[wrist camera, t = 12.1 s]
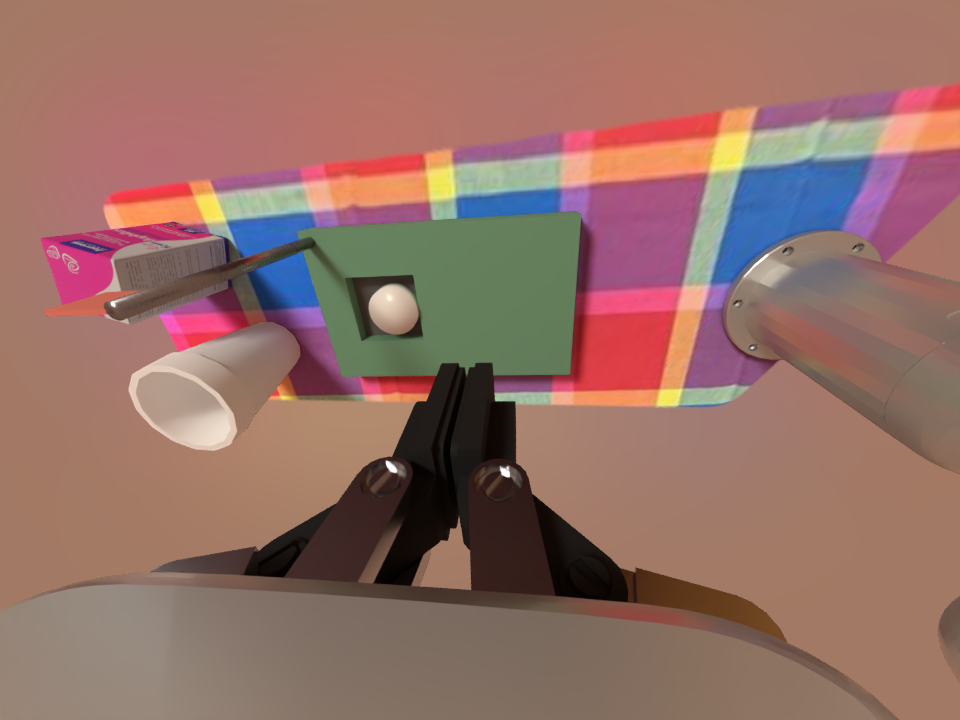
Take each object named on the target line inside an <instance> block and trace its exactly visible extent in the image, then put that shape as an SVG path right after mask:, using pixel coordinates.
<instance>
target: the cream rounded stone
mask: <svg viewBox="0 0 960 720" xmlns="http://www.w3.org/2000/svg"><path fill="white" fill-rule="evenodd" d="M369 313H370V316H371V319H372V320H373V322H374V323H375V324H376V326H378V327H379V328H380V329H381V330H383V331H385V332H387V333H390V334H396V335H397V334H404V333H406V332H408V331H410V330H411V329H412V328H413V327H414V325H415V324H416V322H417V321H418V319H419V317H420V314H419V307H418V301H417V295H416V292H415V291H414V290H413V289H412V288H411V287H409V286H408V285H406V284H403V283H399V282H391V283H388V284H386V285H384V286H382V287H381V288H380V289H379V290H378V291H377V292H376V293H375V294H374V295H373V296H372V297H371V299H370V302H369Z"/></svg>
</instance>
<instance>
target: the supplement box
mask: <svg viewBox="0 0 960 720" xmlns="http://www.w3.org/2000/svg"><path fill="white" fill-rule="evenodd" d="M41 242H42V246H43V249H44V251H45V254H46V257H47V259H48V262H49V265H50V268H51V271H52V273H53V276H54V279H55V282H56V286H57V289H58V292H59V295H60V298H61V301H62V304H63V305H65V304H68V303H71V302H75V301H78V300H81V299H85V298H88V297H91V296H95V295H98V294H101V293H105V292H118V291H142V290H145V289H148V288H151V287H154V286H157V285H160V284H163V283H166V282H170V281H173V280H176V279H179V278H182V277H185V276H188V275H191V274H194V273H198V272H201V271H204V270H207V269H210V268H213V267H216V266H219V265H222V264H226V263H229V262H230V260H229V247H228V240H227V238H225V237H222V236H218V235H214V234H210V233H207V232H204V231H200V230H197V229H194V228H191V227H187V226H184V225H182V224H179V223H176V222H169V223H161V224H152V225H144V226H136V227H129V228H120V229H112V230H104V231H96V232H87V233H80V234H72V235H63V236H55V237H46V238H41ZM228 288H232V281H231V279H229V280H227V281H224V282H222V283H219V284H216V285H214V286H211V287H209V288H206V289H203V290H201V291H198V292H195V293H193V294H190V295H188V296H185V297H182V298H180V299H177V300H174V301H172V302H169V303H167V304H164V305H161V306H159V307H156V308H153V309H151V310H148V311H146V312H143V313H140V314H138V315H135V316H133V317H130V318H127V319H125V320H122V321H119V322H122V323H126V324H129V325H132V324H135V323H137V322H140V321H142V320H145V319H148V318H150V317H153V316H156V315H159V314H161V313H164V312H167V311H170V310H172V309H175V308H177V307H180V306H183V305H185V304H188V303H191V302H193V301H196V300H199V299H201V298H204V297H207V296H210V295H212V294H215V293H218V292H220V291H223V290H226V289H228ZM99 316H102V317H105V318H109V319H112V320H115V319H113V318H111V317H110V316H109V315H108V314H104V315H99ZM116 321H118V320H116Z"/></svg>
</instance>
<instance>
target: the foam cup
mask: <svg viewBox="0 0 960 720" xmlns="http://www.w3.org/2000/svg"><path fill="white" fill-rule="evenodd" d="M299 358H300V346H299V344H298V342H297V340H296V338H295V337H294V335H293V334H292V333H290V332H289V331H288V330H287V329H286V328H285V327H283V326H281V325H278V324H276V323H274V322H260V323H256V324H253V325H251V326H248V327H245V328H243V329H240V330H237V331H235V332H232V333H229V334H227V335H224V336H221V337H219V338H216V339H213V340H211V341H208V342H205V343H203V344H200V345H197V346H195V347H192V348H189V349H187V350H184V351H181V352H172V353H170V354H168V355H166V356H165V357H163V358H161V359H159V360H157V361H155V362H153V363H151V364H150V365H148V366H146V367H144V368H142V369H140V370H139V371H137V372H135V373H133V374H132V377H131V381H130V386H129V389H128V390H129V393H130V395H131V398H132V401H133V403H134V406H135V408H136V410H137V411H138V412H139V413H140V414H141V415H142V416H143V418H144V419H145V420H146V421H147V422H148V423H149V424H150V425H151V426H152V427H153V428H155V429H156V430H157V431H159V432H160V433H162V434H163V435H165V436H166V437H168V438H169V439H171V440H172V441H174V442H177V443H180V444H182V445H185V446H188V447H190V448H193V449H199V450H218V449H221V448H223V447H226V446H228V445H230V444H231V443H233V442H234V440H236V439H237V438H238V437H239V436H240V435H241V434H242V433H243V432H244V431H245V430H246V429H247V428H248V427H249V425H250V423H251V421H252V419H253V417H254V416H255V415H256V414H257V412H258V411H259V410H260V409H261V407H262V406H263V405H264V404H265V402H266V401H267V400H268V399H269V397H270V396H271V395H272V394H273V392H274V391H275V390H276V388H277V387H278V386H279V385H280V383H281V382H282V381H283V380H284V378H285V377H286V376H287V375H288V373H289V372H290V371H291V370H292V368H293V367H294V365H295V364H296V363H297V361H298V359H299Z"/></svg>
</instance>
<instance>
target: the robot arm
mask: <svg viewBox="0 0 960 720" xmlns="http://www.w3.org/2000/svg"><path fill="white" fill-rule="evenodd" d="M722 321H723V327H724V329H725V332H726V335H727V336H728V337H729V339H730V340H731V341H732V343H734V344H735V345H736V346H737V347H738V348H739V349H741V350H742V351H744V352H745V353H747V354H749V355H752V356H754V357H757V358H762V359H768V360H786V361H787V362H788V363H790V364H791V365H792V366H794V367H795V368H797V369H798V370H800V371H801V372H802V373H804V374H805V375H807V376H808V377H809V378H811V379H812V380H814V381H815V382H816V383H818V384H819V385H821V386H822V387H823V388H825V389H826V390H828V391H829V392H830V393H832V394H833V395H835V396H836V397H837V398H839V399H840V400H842V401H843V402H844V403H846V404H848V405H849V406H850V407H852V408H853V409H854V410H856V411H857V412H859V413H860V414H861V415H863V416H864V417H866V418H867V419H868V420H870V421H871V422H873V423H874V424H876V425H877V426H878V427H880V428H881V429H883V430H884V431H885V432H887V433H888V434H890V435H891V436H893V437H894V438H896V439H897V440H898V441H900V442H901V443H903V444H904V445H906V446H907V447H908V448H910V449H911V450H913V451H914V452H916V453H917V454H919V455H920V456H922V457H924V458H925V459H927V460H929V461H930V462H932V463H934V464H936V465H939V466H940V467H942V468H945V469H948V470H950V471H953V472H955V473H958V474H960V282H957V281H953V280H949V279H945V278H941V277H937V276H933V275H929V274H925V273H921V272H917V271H913V270H910V269H906V268H902V267H898V266H893V265H890V264H886V263H882V259H881V257H880V255H879V252H878V250H877V249H876V248H875V247H874V246H873V245H872V244H871V243H870V242H869V241H868V240H866V239H864V238H862V237H861V236H859V235H856V234H852V233H848V232H844V231H837V230H830V229H829V230H813V231H809V232H804V233H800V234H797V235H794V236H791V237H789V238H786V239H784V240H782V241H780V242H778V243H776V244H774V245H772V246H771V247H769V248H767V249H766V250H764V251H763V252H762V253H760V254H759V255H758V256H756V257H755V258H754V259H753V260H752V261H751V262H750V263H749V264H748V265H747V266H745V267H744V268H743V270H742V271H741V272H740V273H739V275H738V276H737V277H736V279H735V280H734V281H733V283H732V285H731V287H730V289H729V290H728V292H727V295H726V298H725V301H724V304H723V311H722ZM459 517H460V523H461V528H462V535H463V542H464V544H465V545H466V546H467V548H468V549H469V550H470V566H471V568H470V569H471V590H462V589H447V588H433V587H420V584H421V581H422V579H423V576H424V573H425V571H426V568H427V565H428V563H429V559H430V555H431V551H430V549H431V548H433V547H434V546H435V545H436V544H438V543H439V542H440V540H445V541H447V540H448V538H449V533H450V528H456V527H457V523H458V518H459ZM938 638H939V643H940V647H941V650H942V653H943V655H944V657H945V659H946V661H947V663H948V665H949V667H950V668H951V670H952V672H953V674H954V675H955V676H956V678H957V679H958V681H959V682H960V596H959V597H957V598H956V599H955V600H954V601H952V602H951V604H949V606H948V607H947V608H946V609H945V610H944V612H943V614H942V616H941V618H940V621H939V625H938ZM0 720H899V719H898V718H897V717H896V716H895V715H894V714H893V713H892V712H890V711H889V710H888V709H887V708H886V707H885V706H884V705H883V704H882V703H881V702H880V701H879V700H878V699H877V698H875V697H874V696H873V695H872V694H871V693H869V692H868V691H867V690H865V689H864V688H863V687H862V686H860V685H859V684H858V683H856V682H855V681H853V680H852V679H850V678H849V677H848V676H846V675H845V674H843V673H841V672H840V671H838V670H837V669H835V668H833V667H832V666H830V665H828V664H827V663H825V662H823V661H821V660H820V659H818V658H816V657H814V656H813V655H811V654H809V653H807V652H805V651H803V650H801V649H799V648H797V647H795V646H793V645H791V644H789V643H787V641H786V639H785V637H784V635H783V633H782V631H781V629H780V628H779V627H778V625H777V624H776V623H775V622H774V621H773V620H772V619H771V617H770V616H769V615H768V614H767V613H766V612H764V611H763V610H762V609H760V608H759V607H758V606H756V605H755V604H754V603H752V602H751V601H748V600H746V599H743V598H741V597H739V596H737V595H733V594H730V593H726V592H723V591H719V590H715V589H712V588H708V587H705V586H701V585H697V584H694V583H690V582H687V581H683V580H679V579H676V578H672V577H669V576H665V575H661V574H658V573H654V572H651V571H647V570H643V569H639V568H635V571H634V572H633V571H629V570H625V569H621V568H619V567H618V566H617V565H616V564H615V563H614V562H613V561H612V559H611V558H610V557H608V556H607V555H606V554H605V553H604V552H602V551H601V550H600V549H599V548H598V547H596V546H595V545H594V544H592V543H591V542H590V541H589V540H588V539H587V538H585V537H584V536H583V535H582V534H581V533H579V532H578V531H577V530H576V529H574V528H573V527H572V526H571V525H570V524H568V523H567V522H566V521H565V520H563V519H562V518H561V517H560V516H559V515H557V514H556V513H555V512H554V511H552V510H551V509H550V508H549V507H548V506H546V505H545V504H544V503H543V502H542V501H540V500H539V499H538V498H537V497H536V496H534V495H533V494H532V491H531V486H530V482H529V478H528V476H527V473H526V471H525V470H524V469H523V468H522V467H521V466H520V465H518V464H517V463H516V408H515V401H495V395H494V378H493V364H492V363H475V367H469V370H468V374H467V378H466V370H465V367H460V366H459V363H442V364H441V366H440V368H439V371H438V373H437V376H436V379H435V381H434V384H433V386H432V389H431V391H430V394H429V396H428V399H427V401H418V402H416V404H415V405H414V408H413V410H412V412H411V415H410V417H409V419H408V422H407V424H406V426H405V428H404V431H403V433H402V435H401V437H400V440H399V442H398V444H397V447H396V449H395V451H394V454H393V456H392V457H385V458H380V459H377V460H375V461H373V462H371V463H369V464H368V465H366V466H365V467H363V468H362V470H361V471H360V472H359V473H358V474H357V475H356V477H355V478H354V480H353V481H352V482H351V484H350V485H349V487H348V488H347V489H346V491H345V492H344V494H343V495H342V497H341V498H340V499H339V501H338V502H337V503H336V504H334V505H333V506H331V507H329V508H327V509H326V510H324V511H322V512H321V513H319V514H317V515H316V516H314V517H312V518H310V519H309V520H307V521H305V522H304V523H302V524H300V525H298V526H297V527H295V528H293V529H291V530H290V531H288V532H286V533H285V534H283V535H281V536H279V537H278V538H276V539H274V540H273V541H271V542H270V543H269V544H267V545H266V546H264V547H263V548H262V549H261V550H260V551H259V550H258V549H257V548H256V546H255V547H249V548H244V549H238V550H232V551H227V552H221V553H215V554H210V555H204V556H198V557H192V558H187V559H181V560H176V561H172V562H169V563H167V564H164V565H162V566H160V567H158V568H157V569H155V570H153V571H151V572H149V573H131V574H122V575H114V576H107V577H101V578H96V579H91V580H86V581H81V582H77V583H73V584H70V585H67V586H63V587H60V588H56V589H53V590H49V591H46V592H43V593H40V594H37V595H35V596H32V597H29V598H27V599H24V600H22V601H20V602H17V603H15V604H13V605H10V606H8V607H6V608H4V609H1V610H0Z"/></svg>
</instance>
